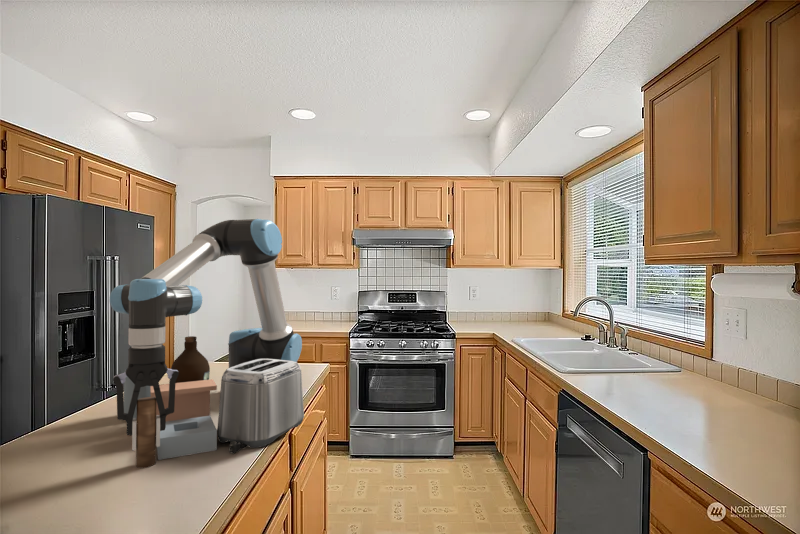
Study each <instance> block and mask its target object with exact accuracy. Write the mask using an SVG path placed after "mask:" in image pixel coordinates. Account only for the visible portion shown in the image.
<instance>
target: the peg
mask: <svg viewBox="0 0 800 534" xmlns="http://www.w3.org/2000/svg"><path fill="white" fill-rule="evenodd" d="M135 454H136V455H135V460H136V461H135V466H136V468H138V469H147V468H150V467H154V466H155V465H156V463H157V447H156V398H155V397H146V398H141V399H138V400H137V421H136V450H135Z"/></svg>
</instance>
